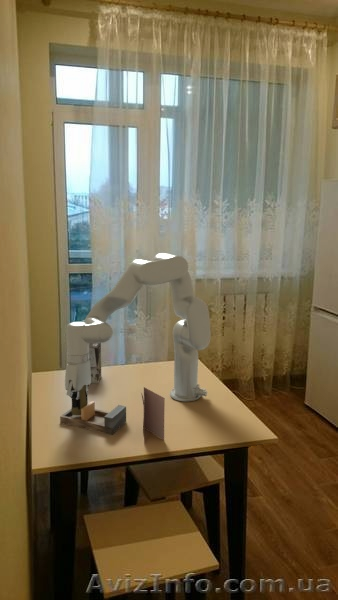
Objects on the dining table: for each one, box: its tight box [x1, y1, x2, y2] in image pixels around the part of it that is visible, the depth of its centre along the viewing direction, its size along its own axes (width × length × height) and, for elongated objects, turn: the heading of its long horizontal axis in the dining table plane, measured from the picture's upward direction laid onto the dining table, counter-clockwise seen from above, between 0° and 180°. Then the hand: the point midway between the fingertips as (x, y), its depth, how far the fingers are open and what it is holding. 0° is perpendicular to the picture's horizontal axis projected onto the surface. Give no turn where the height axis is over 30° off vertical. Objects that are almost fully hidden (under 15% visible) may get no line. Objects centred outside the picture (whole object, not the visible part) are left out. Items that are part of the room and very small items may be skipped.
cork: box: [70, 385, 87, 415], centre depth 154 cm, size 6×6×11 cm
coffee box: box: [89, 343, 102, 384], centre depth 192 cm, size 9×6×16 cm
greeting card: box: [140, 386, 165, 441], centre depth 144 cm, size 11×7×15 cm, turn 4°
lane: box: [59, 404, 127, 436], centre depth 153 cm, size 21×10×6 cm, turn 68°
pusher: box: [81, 400, 96, 421], centre depth 154 cm, size 1×7×5 cm, turn 158°
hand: (79, 405), depth 155 cm, fingers closed on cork, 3 cm apart
